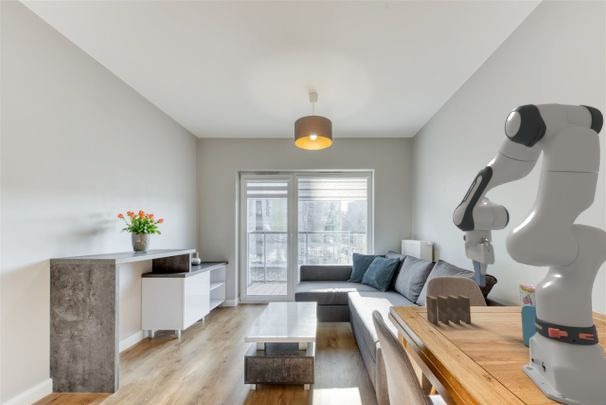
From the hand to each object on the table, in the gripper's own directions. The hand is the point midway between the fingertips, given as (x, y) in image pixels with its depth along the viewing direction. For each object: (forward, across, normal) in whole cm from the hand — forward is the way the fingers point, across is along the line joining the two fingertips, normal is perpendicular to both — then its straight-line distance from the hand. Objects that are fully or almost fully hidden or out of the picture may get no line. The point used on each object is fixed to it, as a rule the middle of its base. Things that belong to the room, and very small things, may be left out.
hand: (479, 272), depth 118 cm
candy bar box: (+20, -7, -16) cm, 27 cm away
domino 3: (+21, +3, +9) cm, 23 cm away
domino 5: (+5, 0, 0) cm, 5 cm away
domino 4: (+21, +4, +5) cm, 22 cm away
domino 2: (+21, +2, +14) cm, 25 cm away
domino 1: (+21, +1, +18) cm, 27 cm away
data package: (+20, -20, -12) cm, 31 cm away
